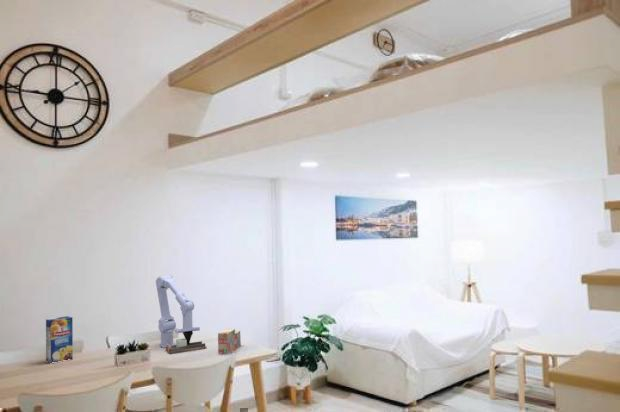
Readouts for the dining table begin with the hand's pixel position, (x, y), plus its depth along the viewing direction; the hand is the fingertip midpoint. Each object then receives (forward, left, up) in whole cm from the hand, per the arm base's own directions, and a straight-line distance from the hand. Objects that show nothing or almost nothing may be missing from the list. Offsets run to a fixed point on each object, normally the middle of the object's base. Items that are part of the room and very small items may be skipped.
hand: (187, 343), depth 298 cm
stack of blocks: (+17, +21, -4) cm, 27 cm away
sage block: (0, -4, -2) cm, 4 cm away
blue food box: (-19, -69, -3) cm, 72 cm away
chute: (0, -1, -3) cm, 3 cm away
